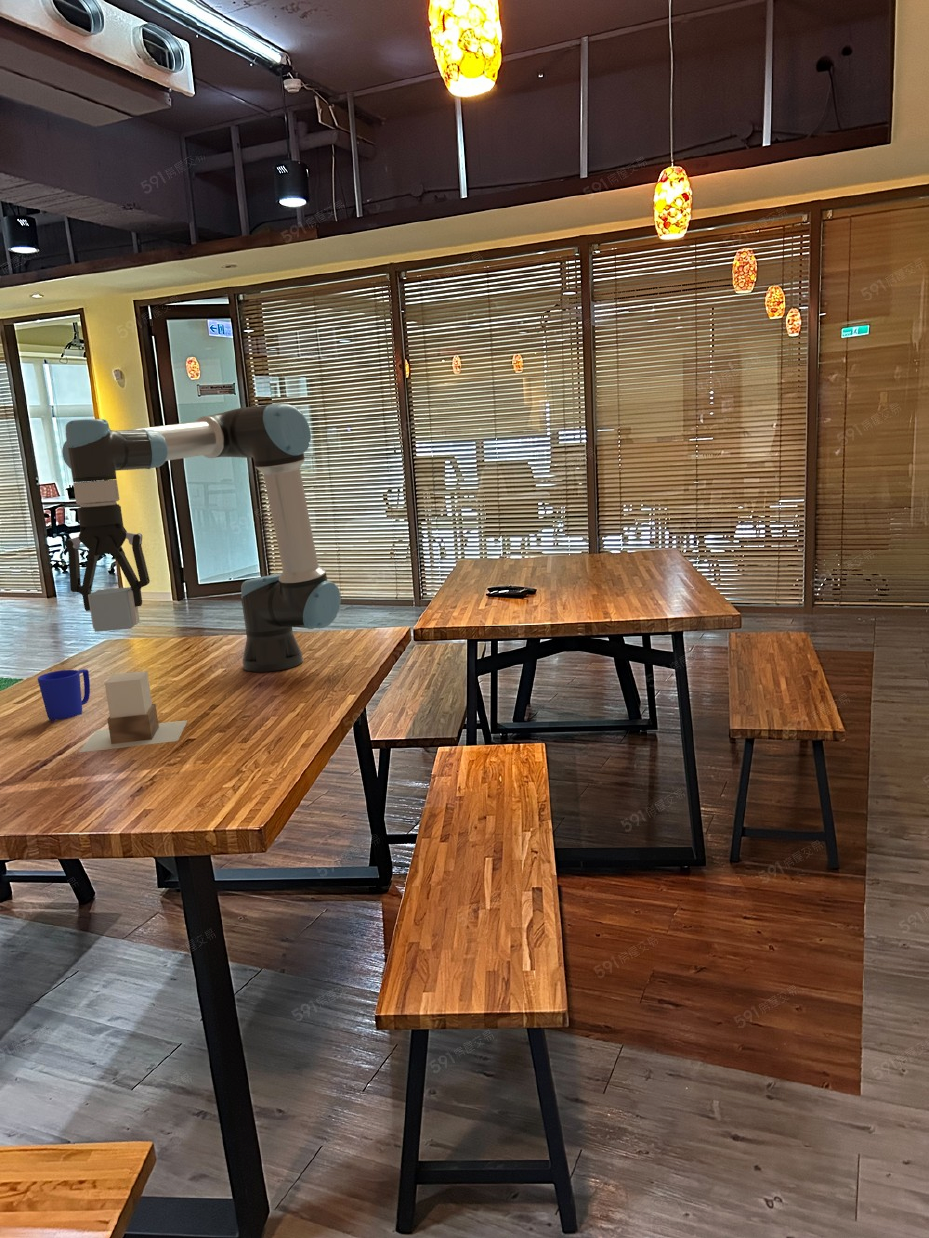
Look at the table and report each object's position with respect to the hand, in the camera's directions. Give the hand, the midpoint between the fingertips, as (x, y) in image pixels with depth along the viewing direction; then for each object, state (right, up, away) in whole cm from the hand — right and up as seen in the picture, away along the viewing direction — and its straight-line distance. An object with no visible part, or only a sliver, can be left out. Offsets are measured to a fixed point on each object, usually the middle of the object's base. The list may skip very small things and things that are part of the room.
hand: (116, 625), depth 164 cm
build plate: (+2, -23, +4) cm, 23 cm away
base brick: (+2, -22, +4) cm, 22 cm away
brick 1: (0, 0, 0) cm, 0 cm away
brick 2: (+2, -17, +3) cm, 17 cm away
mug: (-19, -20, +24) cm, 37 cm away
